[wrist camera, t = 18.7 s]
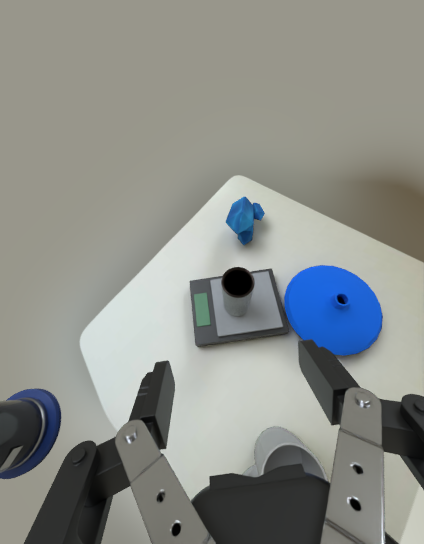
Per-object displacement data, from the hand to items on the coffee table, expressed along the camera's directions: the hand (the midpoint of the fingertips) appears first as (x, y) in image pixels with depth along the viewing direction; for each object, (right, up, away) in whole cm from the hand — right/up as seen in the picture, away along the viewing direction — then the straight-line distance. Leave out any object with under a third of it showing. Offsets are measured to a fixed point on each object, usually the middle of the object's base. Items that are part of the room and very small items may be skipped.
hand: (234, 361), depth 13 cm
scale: (+3, -1, +28) cm, 29 cm away
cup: (+7, -22, +19) cm, 30 cm away
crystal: (+6, +14, +36) cm, 39 cm away
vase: (+19, -2, +27) cm, 33 cm away
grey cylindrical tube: (+3, 0, +26) cm, 26 cm away
